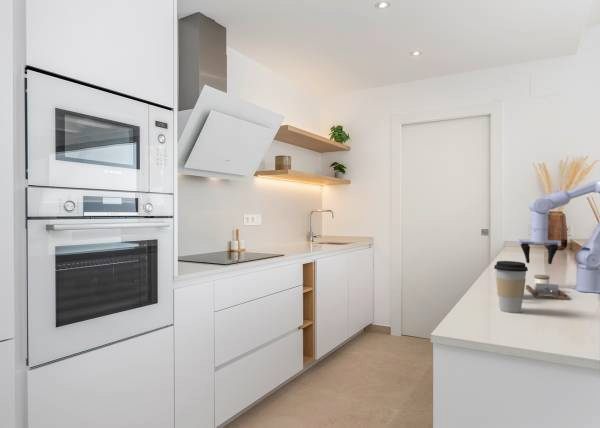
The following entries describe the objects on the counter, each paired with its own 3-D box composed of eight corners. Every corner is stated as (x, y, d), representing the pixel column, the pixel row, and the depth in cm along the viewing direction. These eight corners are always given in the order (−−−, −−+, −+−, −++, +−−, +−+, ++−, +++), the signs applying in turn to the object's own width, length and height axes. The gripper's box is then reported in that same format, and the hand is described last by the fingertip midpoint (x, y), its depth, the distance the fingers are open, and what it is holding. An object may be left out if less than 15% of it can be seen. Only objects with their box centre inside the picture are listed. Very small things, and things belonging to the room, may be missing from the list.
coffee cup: (533, 314, 122) (534, 265, 121) (501, 314, 122) (502, 264, 121) (517, 306, 131) (518, 260, 131) (488, 306, 131) (488, 260, 131)
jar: (547, 290, 156) (547, 274, 156) (551, 293, 151) (551, 277, 151) (532, 289, 157) (532, 274, 157) (536, 292, 153) (536, 276, 153)
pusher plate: (557, 295, 148) (557, 284, 148) (564, 300, 140) (564, 288, 140) (535, 293, 150) (535, 283, 150) (541, 298, 142) (541, 287, 142)
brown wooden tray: (554, 290, 156) (555, 286, 156) (568, 300, 140) (568, 295, 140) (525, 288, 159) (525, 285, 159) (536, 297, 143) (536, 293, 143)
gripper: (557, 228, 161) (556, 262, 162) (516, 228, 166) (516, 261, 166) (562, 229, 154) (562, 265, 155) (520, 229, 159) (519, 263, 159)
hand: (538, 263), depth 160 cm, fingers open, 7 cm apart
